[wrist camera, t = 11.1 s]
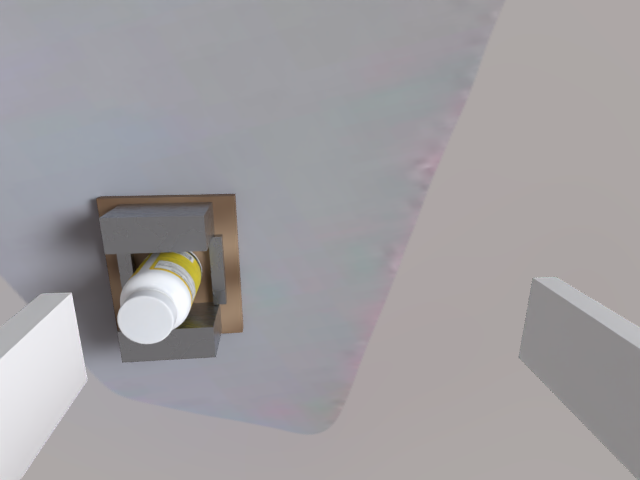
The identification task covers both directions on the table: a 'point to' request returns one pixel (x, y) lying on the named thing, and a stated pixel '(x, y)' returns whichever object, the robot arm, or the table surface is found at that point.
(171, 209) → the grey rectangular frame
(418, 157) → the table surface
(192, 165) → the table surface
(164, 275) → the supplement bottle
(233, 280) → the mount board
